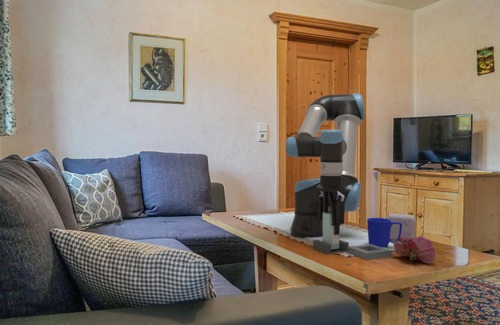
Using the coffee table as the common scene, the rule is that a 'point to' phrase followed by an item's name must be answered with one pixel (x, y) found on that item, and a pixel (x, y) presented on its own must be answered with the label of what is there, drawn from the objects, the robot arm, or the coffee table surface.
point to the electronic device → (407, 226)
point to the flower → (415, 248)
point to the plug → (328, 228)
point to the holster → (329, 247)
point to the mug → (381, 231)
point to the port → (369, 251)
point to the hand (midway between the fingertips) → (330, 242)
